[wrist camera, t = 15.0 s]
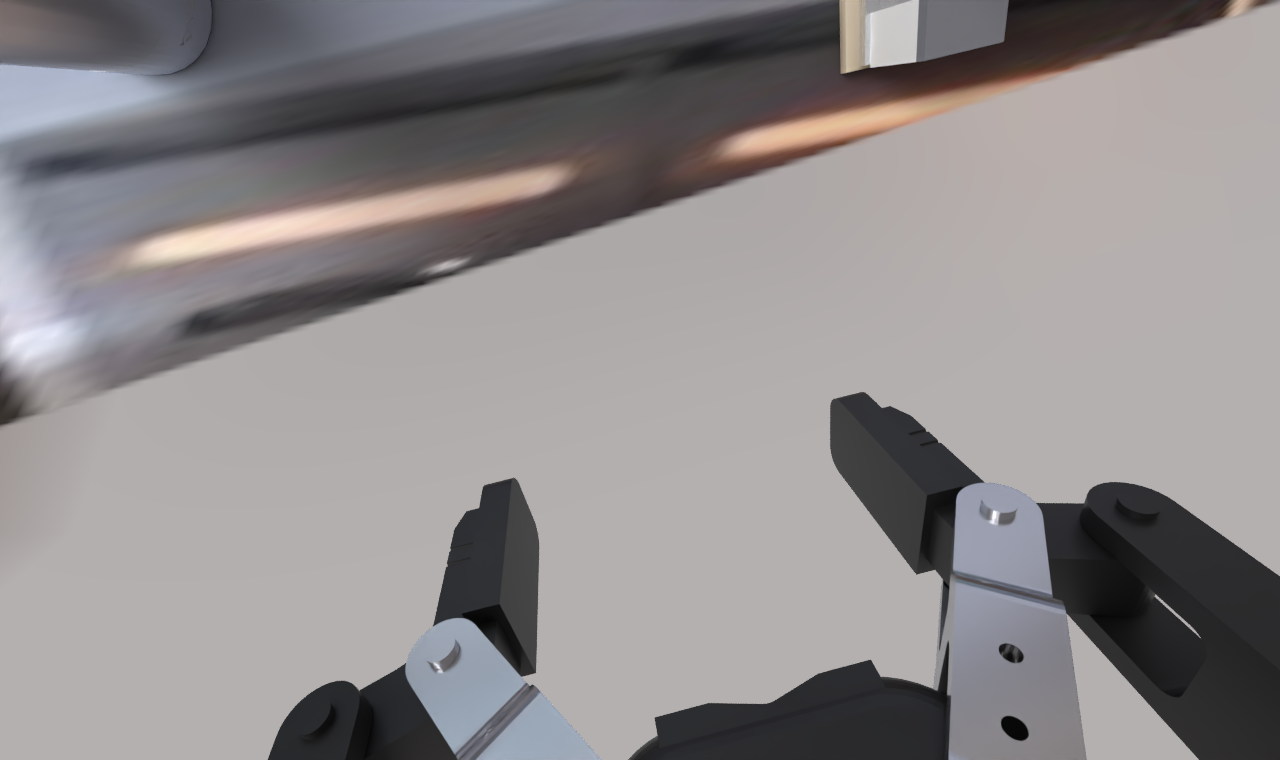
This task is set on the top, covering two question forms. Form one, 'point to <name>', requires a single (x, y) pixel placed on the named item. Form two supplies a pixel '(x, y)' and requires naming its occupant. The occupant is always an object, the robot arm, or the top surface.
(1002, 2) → the mounted modules
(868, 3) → the rail
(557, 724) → the robot arm
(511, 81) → the top surface
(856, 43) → the wood panel
